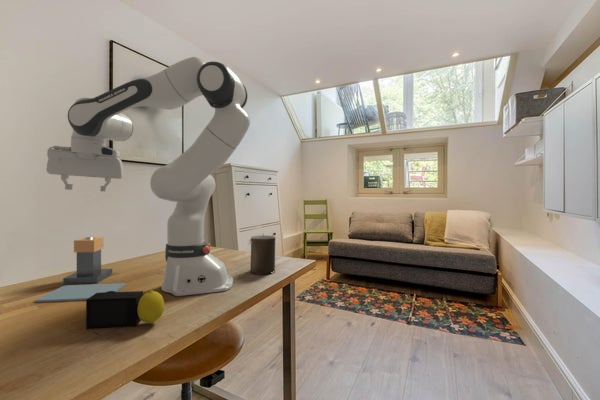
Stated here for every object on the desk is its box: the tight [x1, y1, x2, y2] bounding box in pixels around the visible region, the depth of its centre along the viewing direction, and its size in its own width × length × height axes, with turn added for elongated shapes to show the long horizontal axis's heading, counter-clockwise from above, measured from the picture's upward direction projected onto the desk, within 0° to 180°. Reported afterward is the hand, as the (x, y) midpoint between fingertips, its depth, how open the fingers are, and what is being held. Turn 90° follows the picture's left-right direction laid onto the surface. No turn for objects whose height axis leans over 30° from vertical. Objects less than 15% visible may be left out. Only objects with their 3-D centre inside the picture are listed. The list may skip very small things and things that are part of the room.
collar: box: [73, 236, 104, 253], centre depth 94 cm, size 6×6×4 cm
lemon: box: [137, 289, 165, 325], centre depth 64 cm, size 6×6×8 cm
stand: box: [62, 236, 113, 285], centre depth 95 cm, size 10×10×14 cm
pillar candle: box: [250, 233, 276, 275], centre depth 109 cm, size 10×10×15 cm
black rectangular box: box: [85, 290, 144, 331], centre depth 65 cm, size 10×5×7 cm, turn 99°
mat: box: [34, 282, 127, 303], centre depth 82 cm, size 18×12×1 cm, turn 100°
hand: (86, 190), depth 91 cm, fingers open, 8 cm apart
